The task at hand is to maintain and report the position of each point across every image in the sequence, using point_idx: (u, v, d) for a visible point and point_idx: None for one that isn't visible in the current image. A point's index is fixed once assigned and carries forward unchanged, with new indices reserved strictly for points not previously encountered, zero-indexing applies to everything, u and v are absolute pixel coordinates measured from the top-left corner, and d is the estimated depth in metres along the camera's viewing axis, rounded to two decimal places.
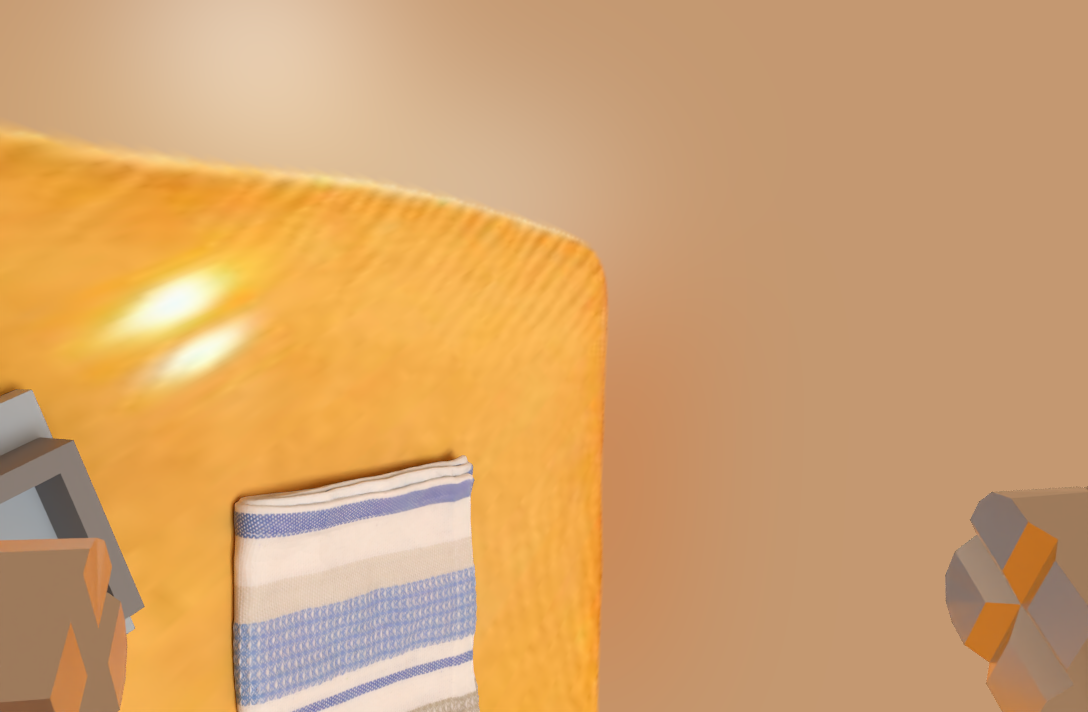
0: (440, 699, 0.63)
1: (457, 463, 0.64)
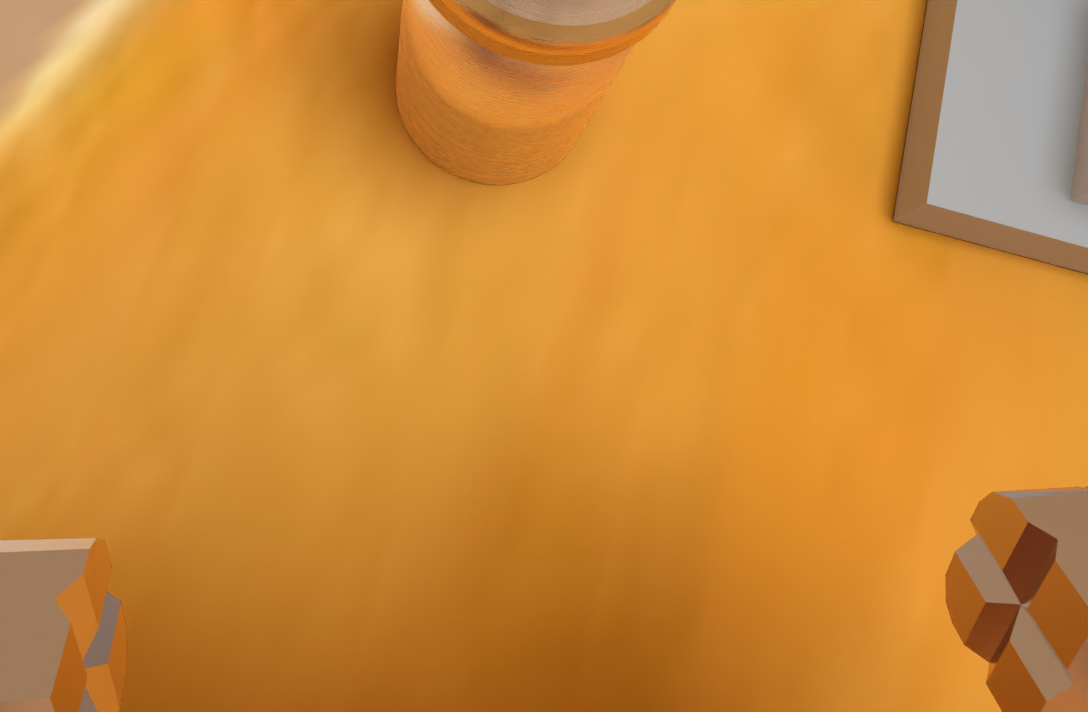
0: None
1: None
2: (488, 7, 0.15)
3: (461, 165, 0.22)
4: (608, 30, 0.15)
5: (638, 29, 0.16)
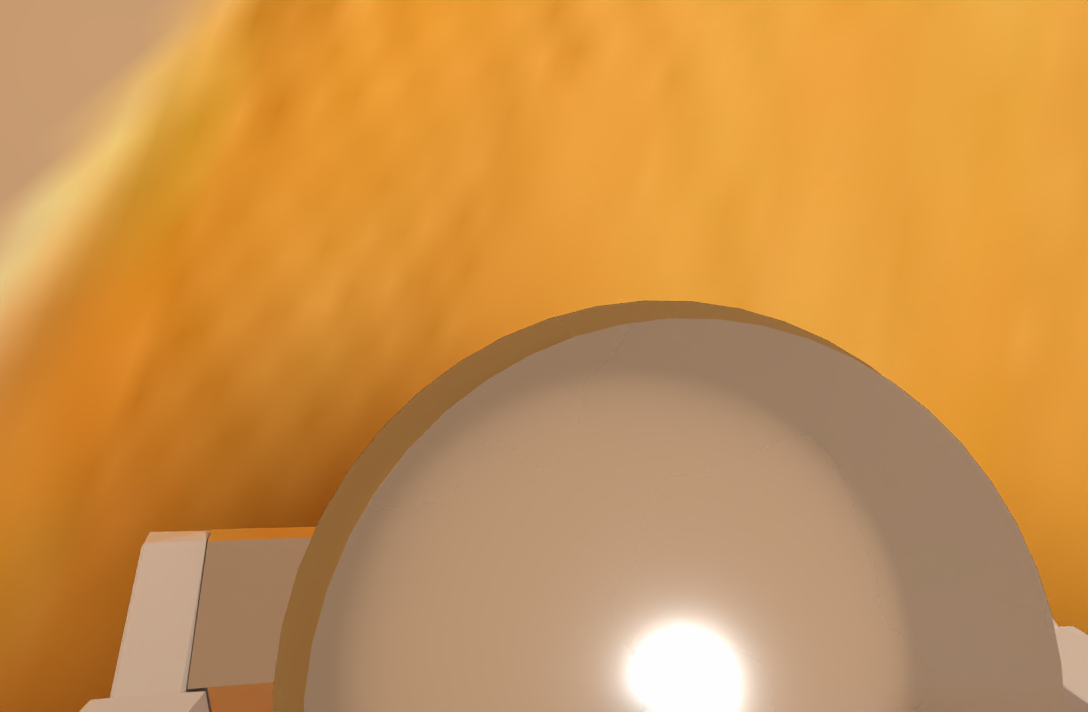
0: None
1: None
2: None
3: None
4: None
5: None
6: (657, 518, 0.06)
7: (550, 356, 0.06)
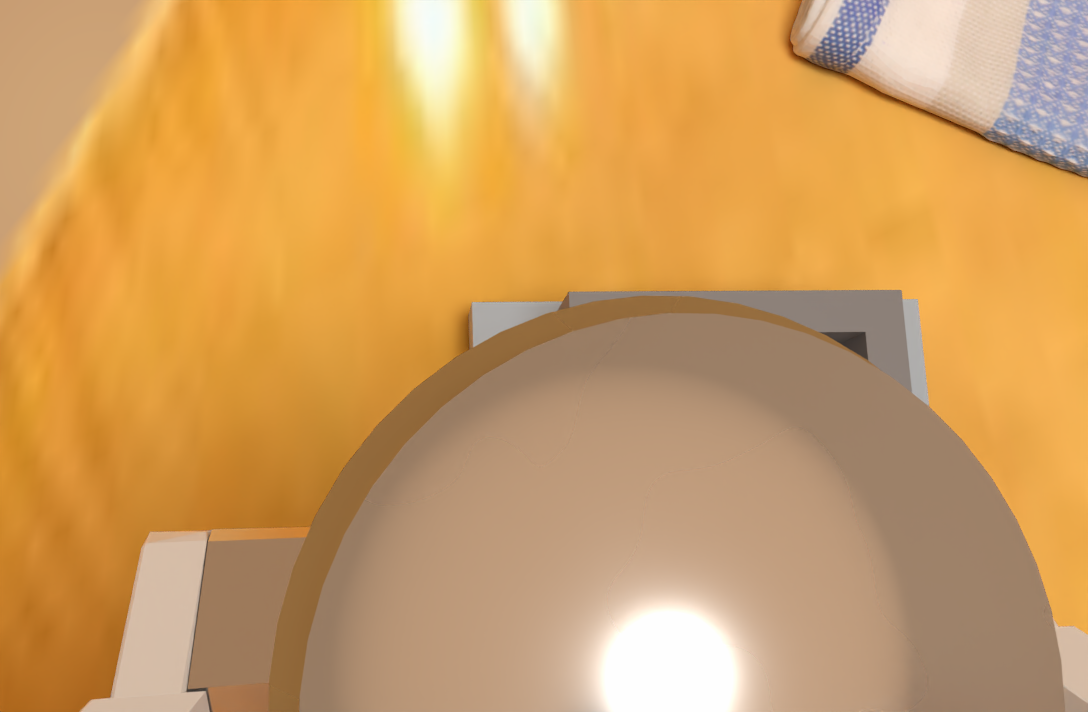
0: None
1: None
2: None
3: None
4: None
5: None
6: (655, 513, 0.06)
7: (547, 351, 0.06)
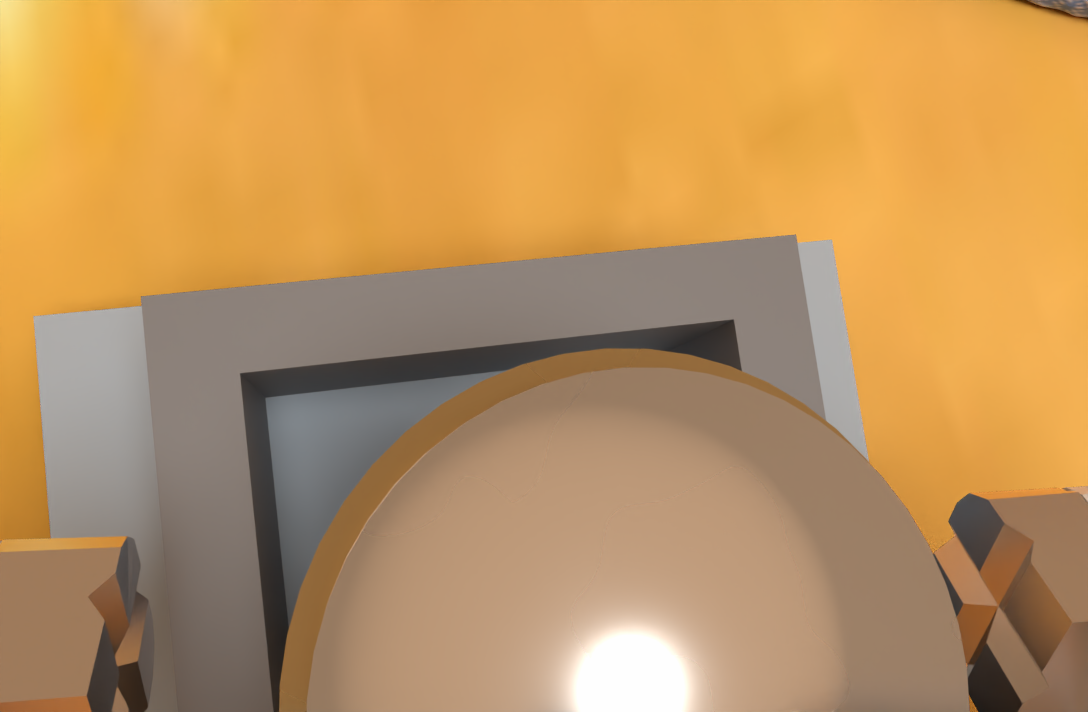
0: None
1: None
2: None
3: None
4: None
5: None
6: (613, 542, 0.07)
7: (520, 401, 0.07)
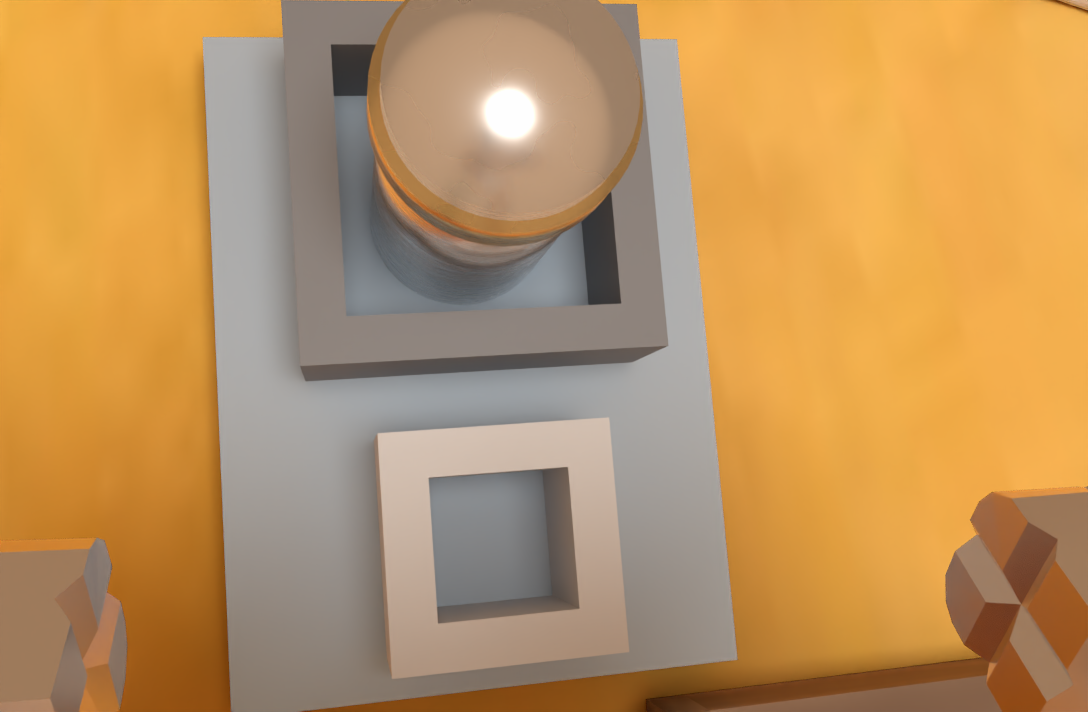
0: None
1: None
2: (442, 204, 0.17)
3: (427, 290, 0.24)
4: (548, 225, 0.18)
5: (576, 220, 0.18)
6: (500, 24, 0.17)
7: None
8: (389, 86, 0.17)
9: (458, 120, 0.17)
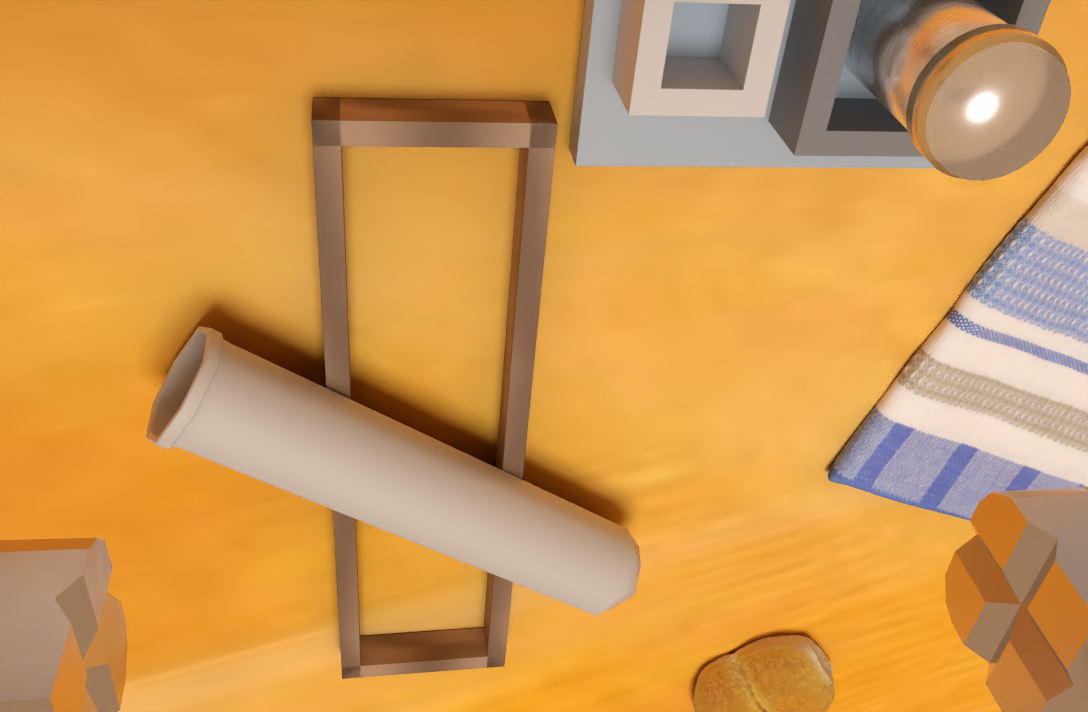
0: None
1: None
2: (951, 69, 0.31)
3: None
4: (921, 124, 0.32)
5: (916, 137, 0.33)
6: (1033, 113, 0.32)
7: (1068, 99, 0.32)
8: (1025, 52, 0.31)
9: (994, 87, 0.31)
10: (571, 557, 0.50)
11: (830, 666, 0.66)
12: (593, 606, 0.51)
